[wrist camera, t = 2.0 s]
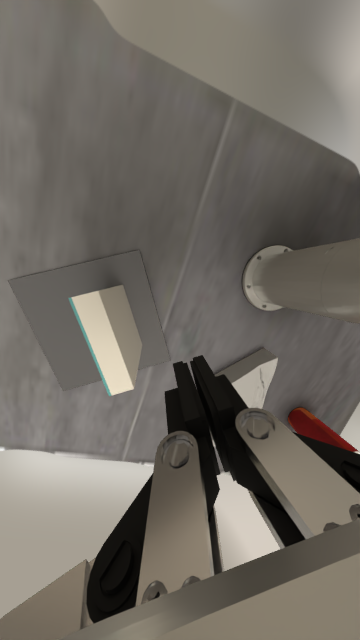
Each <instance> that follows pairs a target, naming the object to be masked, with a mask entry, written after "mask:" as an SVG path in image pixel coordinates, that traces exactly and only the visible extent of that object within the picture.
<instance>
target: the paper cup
mask: <svg viewBox="0 0 360 640" xmlns="http://www.w3.org/2000/svg"><path fill="white" fill-rule="evenodd" d="M288 421H289V423H290V424H291V426H292V427H293V428H294V430H295V431H296V432H297V433H298V434H300V435H303V436H306V437H310V438H313V439H316V440H319V441H322V442H325V443H328V444H331V445H334V446H337V447H340V448H343V449H346V450H349V451H352V452H355V453H358V454H360V452H359V451H358V450H357V449H355V448H354V447H353V446H352V445H350V444H349V443H348V442H347V441H345V440H344V439H343V438H341V437H340V436H339V435H338V434H336V433H335V432H334V431H333V430H331V429H330V428H329V427H328V426H326V425H325V424H324V423H323V422H321V421H320V420H319V419H318V418H316V417H315V416H314V415H312V414H311V413H310V412H309V411H307V410H306V409H304V408H301V407H299V408H296V409H294V410H292V411H291V412H290V414H289V416H288Z"/></svg>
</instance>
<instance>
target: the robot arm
mask: <svg viewBox="0 0 360 640" xmlns="http://www.w3.org/2000/svg"><path fill="white" fill-rule="evenodd" d="M242 284H243V291H244V294H245V296H246V298H247V300H248V301H249V302H250V303H251V304H252V305H253V306H254V307H257V308H259V309H261V310H266V311H273V310H278V309H281V308H283V307H286V308H290V309H295V310H299V311H303V312H307V313H312V314H316V315H320V316H324V317H329V318H333V319H337V320H342V321H346V322H351V323H357V324H360V238H358V239H353V240H347V241H342V242H337V243H331V244H326V245H321V246H315V247H310V248H305V249H300V250H294V251H293V250H292V249H290V248H289V247H286V246H280V245H276V246H270V247H266V248H264V249H262V250H260V251H259V252H257V253H256V254H255V255H254V256H253V257H252V258H251V259H250V261H249V262H248V264H247V266H246V268H245V270H244V274H243V281H242ZM262 305H263V306H262ZM190 364H191V368H192V372H193V376H194V380H195V384H196V386H195V384H194V381H193V378H192V376H191V373H190V370H189V368H188V365H187V363H183V362H182V361H181V362H177V363H174V364H173V367H174V372H175V377H176V381H177V386H178V388H175V389H172V390H169V391H165V403H166V414H167V426H168V435H167V436H166V437H165V438H164V439H163V440H162V441H161V442H160V444H159V446H158V448H157V452H156V456H155V464H154V472H153V474H152V475H151V477H150V478H149V480H148V481H147V482H146V484H145V485H144V487H143V488H142V490H141V491H140V493H139V494H138V496H137V497H136V498H135V500H134V501H133V503H132V504H131V506H130V507H129V508H128V510H127V511H126V513H125V514H124V516H123V517H122V519H121V520H120V521H119V523H118V524H117V526H116V527H115V529H114V530H113V532H112V533H111V534H110V536H109V537H108V539H107V540H106V542H105V543H104V544H103V546H102V548H101V550H100V551H99V553H98V555H97V557H96V558H94V559H93V560H92V561H90V562H89V563H88V561H87V560H86V559H85V560H84V561H83V562H81V563H80V564H78V565H77V566H75V567H74V568H72V569H71V570H69V571H68V572H67V573H65V574H64V575H62V576H61V577H59V578H58V579H56V580H55V581H54V582H52V583H51V584H49V585H48V586H46V587H45V588H43V589H42V590H41V591H39V592H38V593H36V594H35V595H33V596H32V597H30V598H29V599H28V600H26V601H25V602H23V603H22V604H20V605H19V606H17V607H16V608H14V609H13V610H11V611H10V612H9V613H7V614H6V615H5V616H3V617H2V618H1V619H0V640H360V454H358V453H355V452H352V451H349V450H346V449H343V448H340V447H337V446H334V445H331V444H328V443H325V442H322V441H319V440H316V439H313V438H310V437H306V436H303V435H300V434H297V433H294V432H292V431H290V430H289V429H288V428H287V427H286V426H285V425H284V424H283V423H282V422H281V421H279V420H278V419H277V418H276V417H275V416H274V415H273V414H271V413H270V412H268V411H266V410H264V409H260V408H248V406H247V405H246V403H245V402H244V401H243V399H242V398H241V396H240V395H239V394H238V392H237V391H236V389H235V388H234V387H233V385H232V384H231V382H230V381H229V380H228V378H227V377H226V376H225V374H222V375H219V376H215V375H214V373H213V372H212V370H211V368H210V367H209V365H208V364H207V362H206V360H205V359H204V357H203V355H201V356H198V357H194V358H193V361H190ZM196 388H197V389H196ZM210 432H211V433H210ZM211 435H212V437H213V440H214V443H215V446H216V449H217V451H218V454H219V457H220V460H221V463H222V465H223V468H224V471H225V472H228V471H230V473H231V475H232V478H233V480H234V481H235V480H236V481H237V483H238V484H240V485H242V486H243V487H245V488H247V489H248V491H249V493H250V496H251V498H252V500H253V501H254V503H255V505H256V507H257V508H258V510H259V512H260V514H261V515H262V517H263V519H264V521H265V522H266V524H267V526H268V528H269V529H270V531H271V533H272V535H273V536H274V538H275V540H276V542H277V543H278V545H279V547H280V550H278V551H275V552H272V553H270V554H268V555H265V556H262V557H260V558H257V559H255V560H252V561H250V562H247V563H244V564H242V565H239V566H237V567H234V568H232V569H229V570H227V571H224V566H223V560H222V553H221V546H220V539H219V532H218V525H217V519H216V512H215V507H214V503H215V500H216V498H217V495H218V492H219V490H220V488H219V484H218V480H217V475H219V474H220V470H219V466H218V462H217V458H216V454H215V450H214V446H213V441H212V437H211Z"/></svg>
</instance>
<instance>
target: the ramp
mask: <svg viewBox="0 0 360 640" xmlns="http://www.w3.org/2000/svg"><path fill="white" fill-rule="evenodd" d="M277 360H278V357H277V356H275V355H274V354H272V353H271V352H269V351H268V350H266V349H265V348H262V349H261V350H259V351H257V352H255V353H253V354H251V355H250V356H248V357H246V358H244V359H242V360H241V361H239V362H237V363H235V364H233V365H232V366H229V367H228V368H226V369H224V370H222V371H220V372H219V373H217V374H215V376H219V375H222V374H225V376H226V377H227V378H228V380H229V381H230V382H231V384H232V385H233V387H234V388H235V389H236V391H237V392H238V394H239V395H240V396H241V398H242V399H243V401H244V402H245V403H246V405H247V406H248V408H260V409H262V407H263V403H264V400H265V396H266V392H267V389H268V387H269V384H270V382H271V380H272V377H273V375H274V372H275V369H276V365H277ZM210 433H211V432H210ZM211 437H212V435H211ZM212 441H213V446H214V447H215V443H214V440H213V437H212Z"/></svg>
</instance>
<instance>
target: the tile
mask: <svg viewBox="0 0 360 640" xmlns="http://www.w3.org/2000/svg"><path fill="white" fill-rule="evenodd" d="M68 299H69V301H70V304H71V306H72V308H73V311H74V313H75V316H76V318H77V320H78V323H79V325H80V328H81V330H82V332H83V335H84V337H85V340H86V342H87V344H88V347H89V349H90V351H91V354H92V356H93V359H94V361H95V363H96V366H97V368H98V371H99V373H100V375H101V378H102V380H103V383H104V385H105V387H106V390H107V392H108V395H109V396H111V395H115V394H118V393H122V392H125V391H128V390H132V389H134V386H135V381H136V376H137V370H138V365H139V360H140V354H141V349H142V342H141V339H140V336H139V333H138V330H137V327H136V324H135V321H134V318H133V314H132V311H131V308H130V305H129V302H128V299H127V296H126V293H125V290H124V287H123V285H119V286H115V287H111V288H107V289H103V290H99V291H95V292H91V293H87V294H83V295H79V296H75V297H71V298H68Z"/></svg>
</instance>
